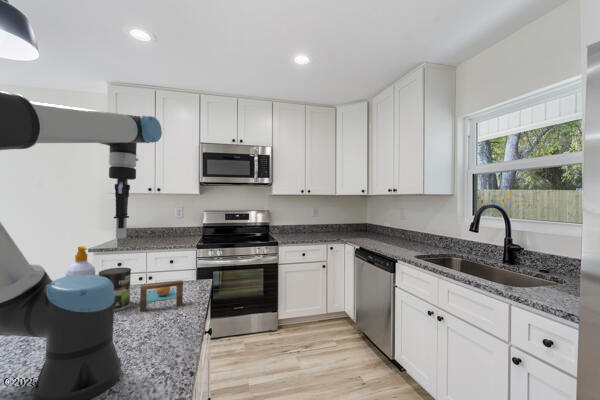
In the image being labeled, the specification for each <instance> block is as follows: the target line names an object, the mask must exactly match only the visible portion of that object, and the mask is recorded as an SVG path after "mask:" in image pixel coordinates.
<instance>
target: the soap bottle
mask: <svg viewBox="0 0 600 400" xmlns="http://www.w3.org/2000/svg"><path fill="white" fill-rule="evenodd" d="M86 250H87V247H86V245H85V246H84V245H81V246H79V245H78V246H77V252H76V254H75V257H74V258H75V259H74V263H72V264H71V265H70V266H69V267H68V268H67V270H66V272H65V277H67V276H73V275H96V269H95V266H94V265H93V263H91V262H90V261H88V253H87V252H86Z"/></svg>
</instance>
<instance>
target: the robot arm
mask: <svg viewBox="0 0 600 400" xmlns="http://www.w3.org/2000/svg"><path fill="white" fill-rule="evenodd" d="M162 134H163V130H162V126H161V123H160V121H159V120H158V118H156V117H154V116H151V115H133V114H132V115H131V114H124V113H123V114H122V113H116V112H109V111H103V110H102V111H100V110H95V109H94V110H93V109H88V108H87V109H86V108H79V107H71V106H66V105H65V106H64V105H58V104H50V103H44V102H43V103H41V102H36V101H35V102H34V101H30V100H29V99H28V98H26V97H24V96H23V95H21V94H19V93H12V92H9V91H2V90H0V151H6V150H26V149H29V148H32V147H34V146H36V144H100V145H104V146H108V147H109V154H108V157H109V159H108V165H109V167H108V178H110V179H113V180H116V183H115V184H114V190H115V192H114V193H115V194H114V197H115V216H113V219H115V220H116V223H115V225H116V226H115V230H116V231H115V239H126V238H127V227H128V226H127V223H128V222H127V221H128V220H127V219H129V218H130V215H128V213H129V212H128V204H129V197H130V190H131V185H130V184H129V183H128V182H129V181H128V180H132V181H134V180H136V178H137V168H136V167H137V162H139V158H137V146H138V145H137V144H138V143H139V144H151V143H152V144H153V143H157V142H159V141H160V140H161V138H162ZM114 301H115V295H114V286H113V283H112V281H111V280H109V279H108V278H106V277H102V276H99V275H97V274H95V275H73V276H67V277H66V276H64V277H60V278H57V279H55V280H52V279H51V277H50V276H49V274H48V273H47V272H46V270H45V268H44V267H43V266H42V265H40V264H39V265H38V264H31V263H30V262H29V261H28V259H27V258H26V257H25V256H24V254H23V252H22V251H21V250H20V248H19V247H18V245H17V243H15V241H14V240H13V238H12V236H11V235H10V234H9V232H8V231H7V229H6V228H5V226H4V225H3V223H2V222H1V221H0V336H3V337H4V336H8V337H9V336H11V337H13V336H15V337H28V338H29V337H30V338H42V339H43V338H44V339H46V342H45V346H46V347H45V348H46V349H45V350H46V352H45V360H44V363H43V364H42V367H41V370H40V372H39V375H38V378H37V380H36V382H35V384H34V386H33V390H32V391H33V394H32V400H91V399H93V398H95V397H96V396H99V395H100V394H103V392H105V391H107V390H108V389H110V388H111V387H112V386H113V385H114V384H115V383H116V382H117V381H118V379H120V376H121V372H122V360H121V358H120V357H119V354H118V352H117V349H116V346H115V343H114V317H115V311H114Z"/></svg>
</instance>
